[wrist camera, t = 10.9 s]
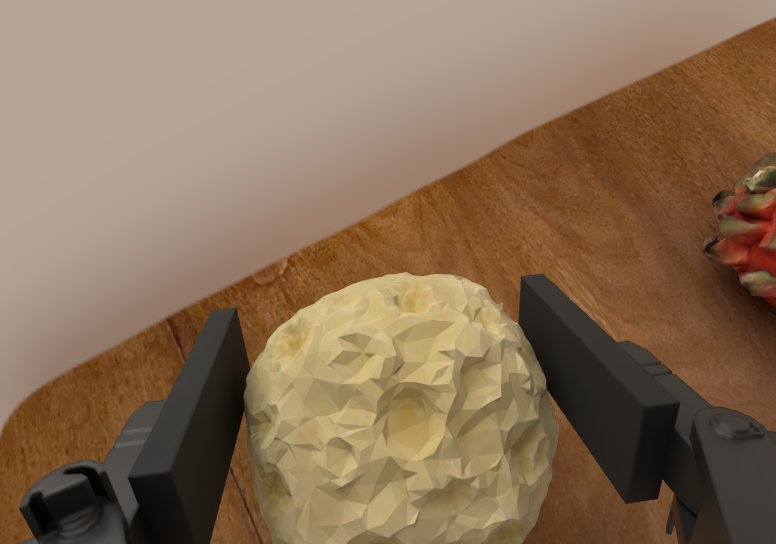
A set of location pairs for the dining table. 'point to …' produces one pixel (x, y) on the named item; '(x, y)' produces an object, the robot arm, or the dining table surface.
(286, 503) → the pale yellow lumpy ball
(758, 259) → the dragon fruit
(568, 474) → the dining table surface
